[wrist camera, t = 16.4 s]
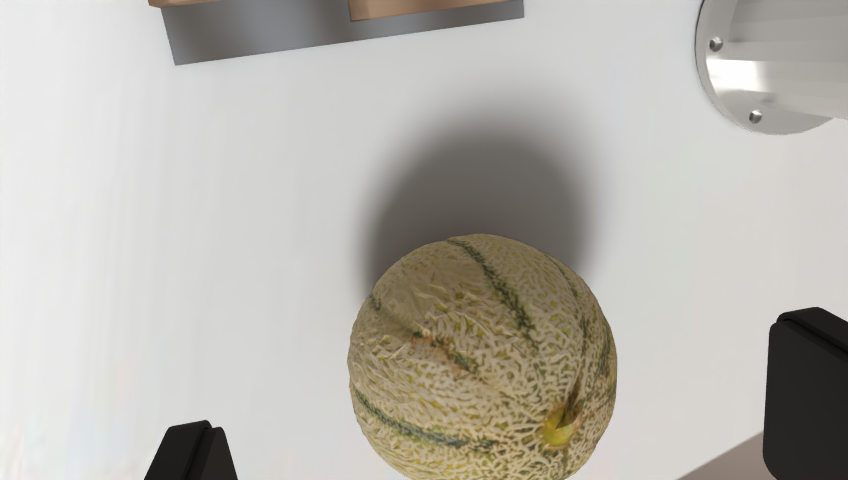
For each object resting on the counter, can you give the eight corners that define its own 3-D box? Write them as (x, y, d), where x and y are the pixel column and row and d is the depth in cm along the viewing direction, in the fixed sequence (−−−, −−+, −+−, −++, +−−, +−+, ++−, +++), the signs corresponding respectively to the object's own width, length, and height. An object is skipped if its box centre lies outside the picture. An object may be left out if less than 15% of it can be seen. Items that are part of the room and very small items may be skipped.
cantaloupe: (300, 305, 39) (275, 451, 25) (473, 157, 37) (552, 222, 23) (442, 442, 43) (490, 631, 29) (601, 315, 42) (734, 449, 28)
